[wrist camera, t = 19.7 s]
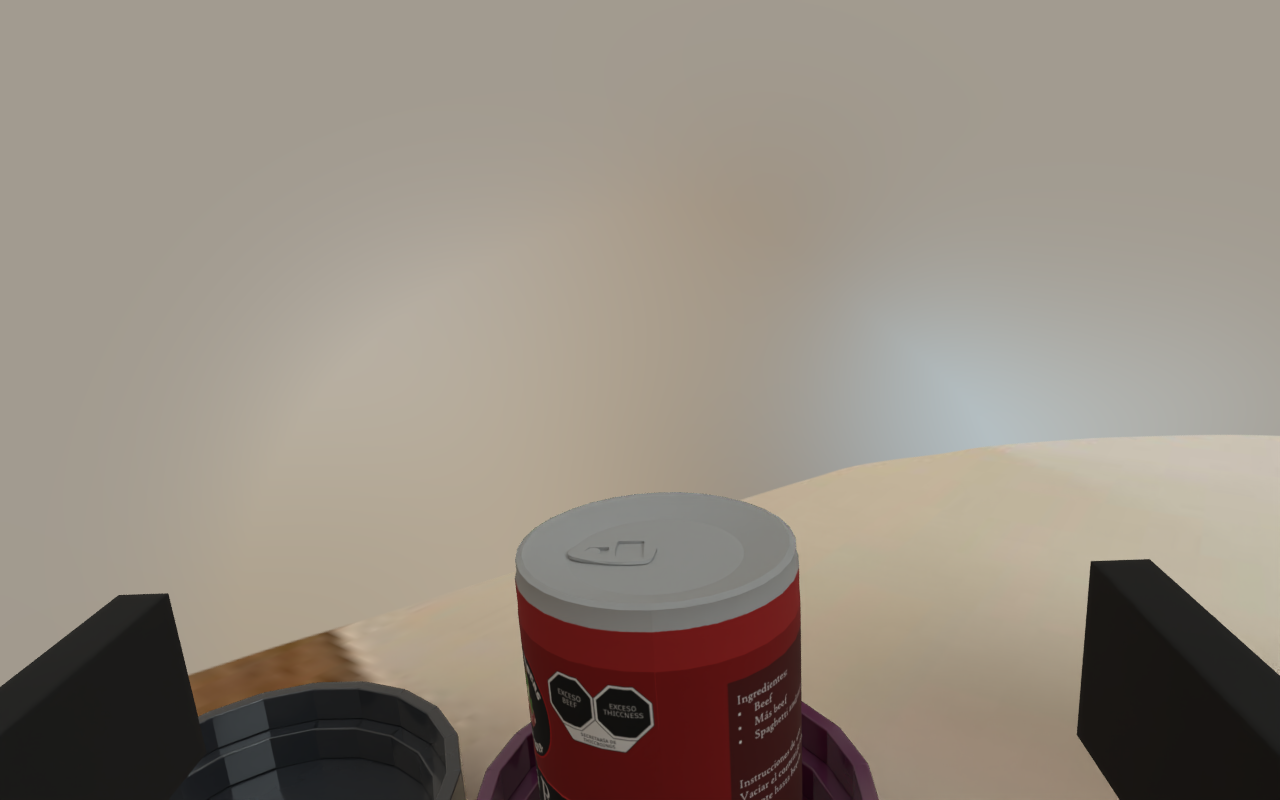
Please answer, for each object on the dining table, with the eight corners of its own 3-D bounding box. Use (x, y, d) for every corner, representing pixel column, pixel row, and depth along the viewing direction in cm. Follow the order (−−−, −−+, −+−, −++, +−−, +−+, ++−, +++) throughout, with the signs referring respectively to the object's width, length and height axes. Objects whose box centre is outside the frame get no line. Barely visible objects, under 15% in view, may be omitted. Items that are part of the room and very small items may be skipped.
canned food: (535, 803, 30) (502, 510, 27) (752, 756, 32) (743, 475, 29) (568, 1002, 23) (527, 633, 20) (847, 928, 25) (847, 577, 22)
